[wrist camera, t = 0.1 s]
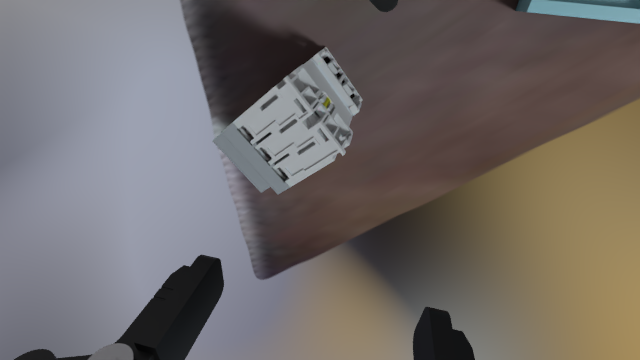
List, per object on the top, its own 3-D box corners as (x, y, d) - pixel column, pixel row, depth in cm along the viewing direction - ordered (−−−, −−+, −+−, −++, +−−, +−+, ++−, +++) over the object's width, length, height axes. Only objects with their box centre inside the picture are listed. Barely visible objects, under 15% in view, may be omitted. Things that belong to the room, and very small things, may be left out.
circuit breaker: (246, 114, 41) (181, 165, 28) (326, 46, 34) (288, 74, 22) (281, 155, 43) (236, 219, 30) (362, 99, 36) (347, 152, 24)
